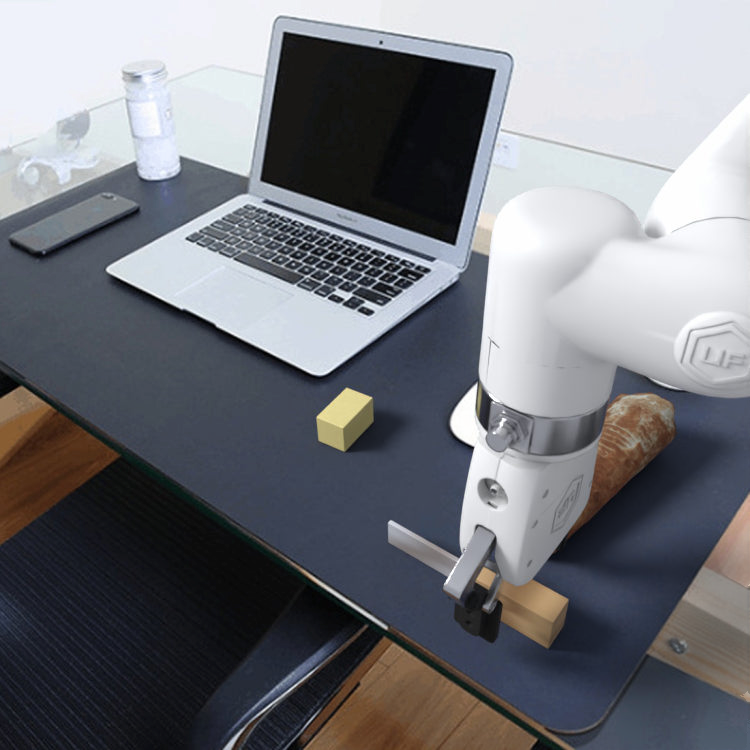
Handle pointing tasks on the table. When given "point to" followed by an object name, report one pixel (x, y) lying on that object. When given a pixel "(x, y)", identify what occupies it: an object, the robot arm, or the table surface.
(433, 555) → the knife
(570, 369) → the robot arm
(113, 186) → the table surface
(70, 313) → the table surface
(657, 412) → the bread
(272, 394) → the table surface
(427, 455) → the table surface
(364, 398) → the butter
